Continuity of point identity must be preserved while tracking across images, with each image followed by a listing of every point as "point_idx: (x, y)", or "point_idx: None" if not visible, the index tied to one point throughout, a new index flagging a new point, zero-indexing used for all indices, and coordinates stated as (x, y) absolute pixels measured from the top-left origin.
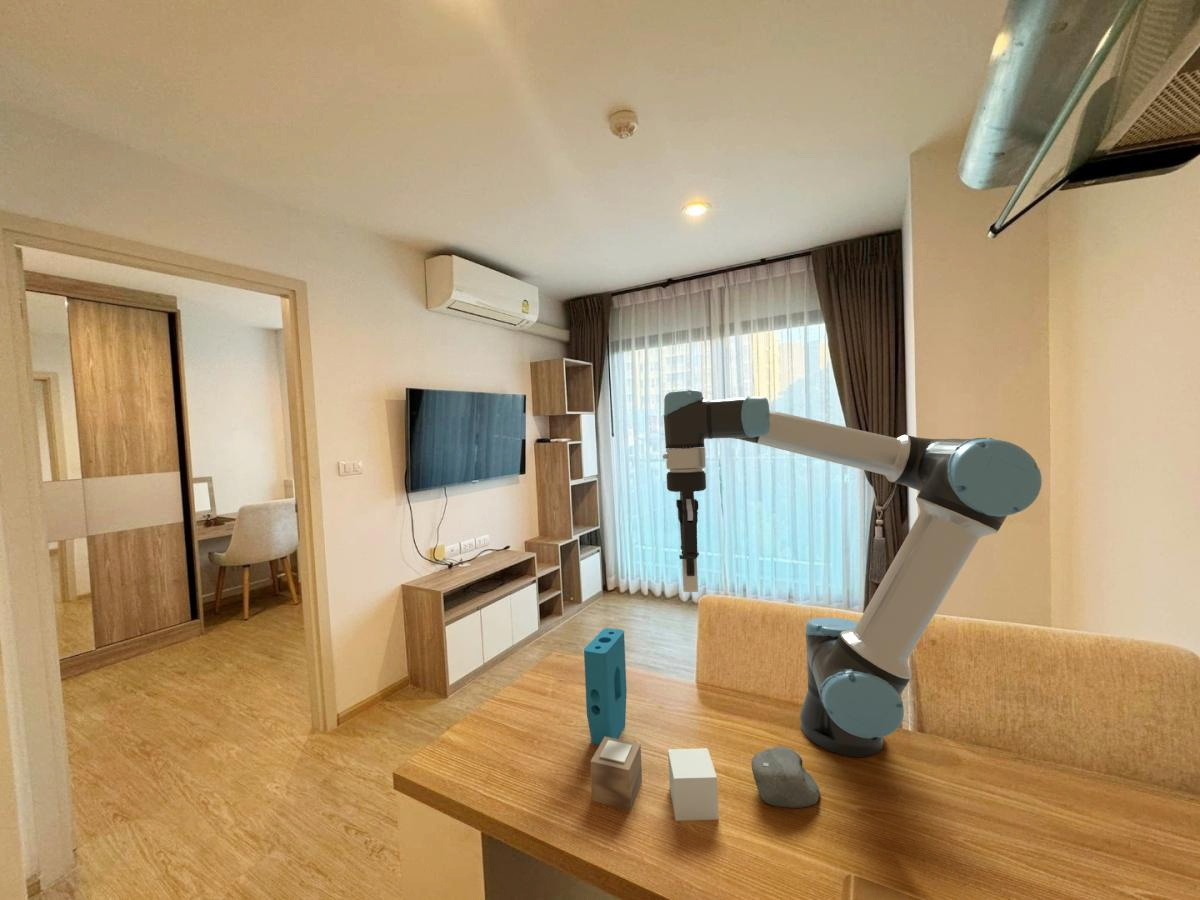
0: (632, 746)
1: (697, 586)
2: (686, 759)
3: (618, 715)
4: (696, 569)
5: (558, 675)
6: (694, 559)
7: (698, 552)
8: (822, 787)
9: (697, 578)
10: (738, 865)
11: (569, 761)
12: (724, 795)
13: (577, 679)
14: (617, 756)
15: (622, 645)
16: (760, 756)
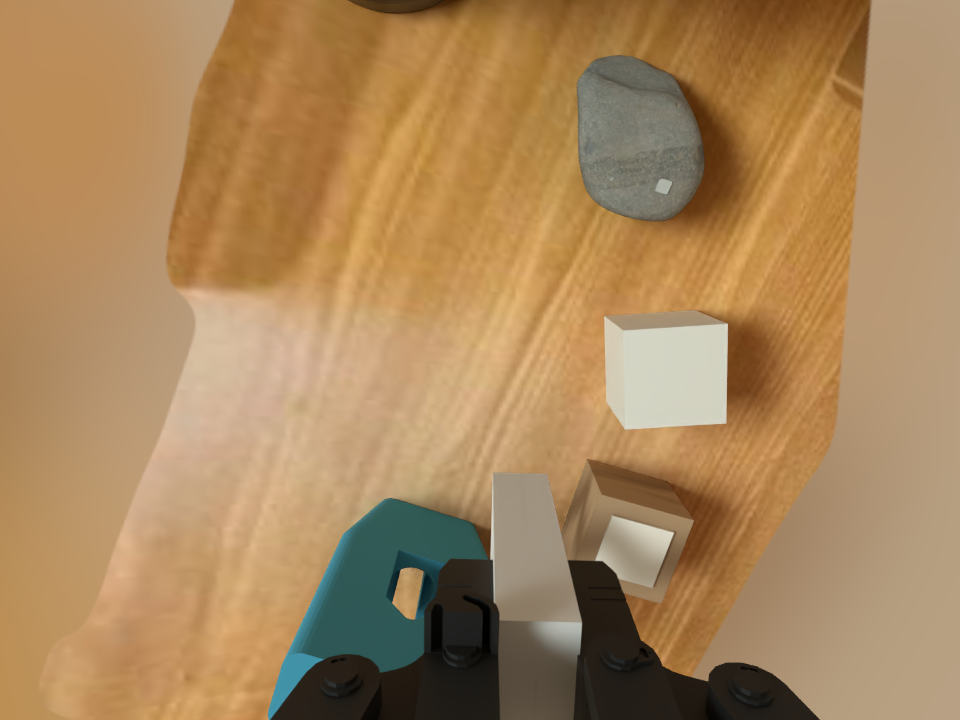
0: (612, 513)
1: (550, 491)
2: (663, 388)
3: (429, 536)
4: (564, 561)
5: (161, 687)
6: (578, 636)
7: (468, 613)
8: (610, 43)
9: (556, 517)
10: (799, 291)
11: None
12: (630, 285)
13: (177, 635)
14: (653, 548)
15: (337, 629)
16: (626, 191)
